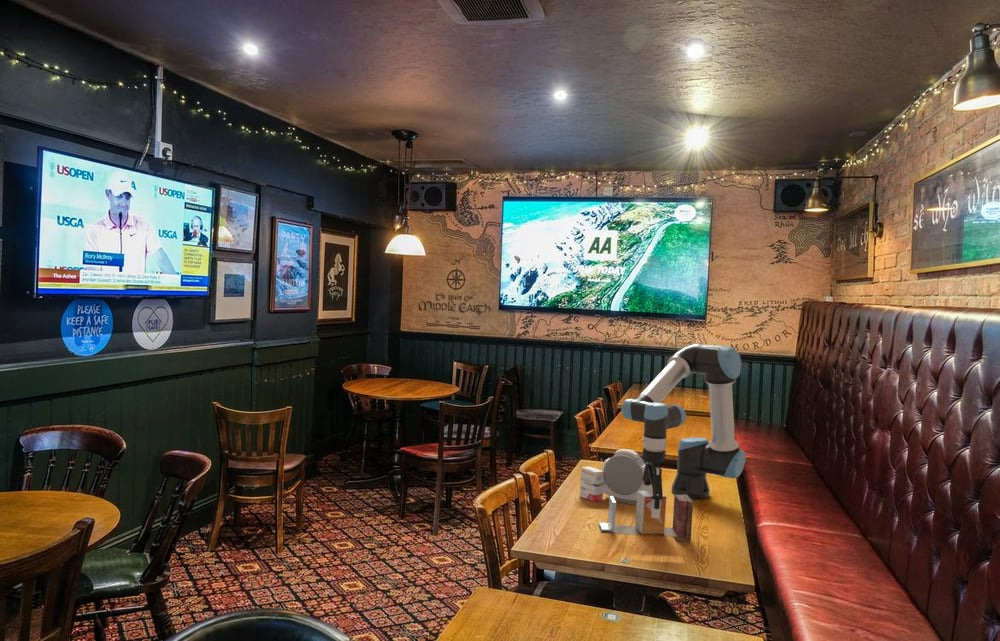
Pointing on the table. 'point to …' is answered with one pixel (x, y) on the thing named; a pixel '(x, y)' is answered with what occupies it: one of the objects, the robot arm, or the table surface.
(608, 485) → the alarm clock
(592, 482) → the ink box
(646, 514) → the small box
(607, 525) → the bookend
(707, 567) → the table surface
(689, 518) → the book board
